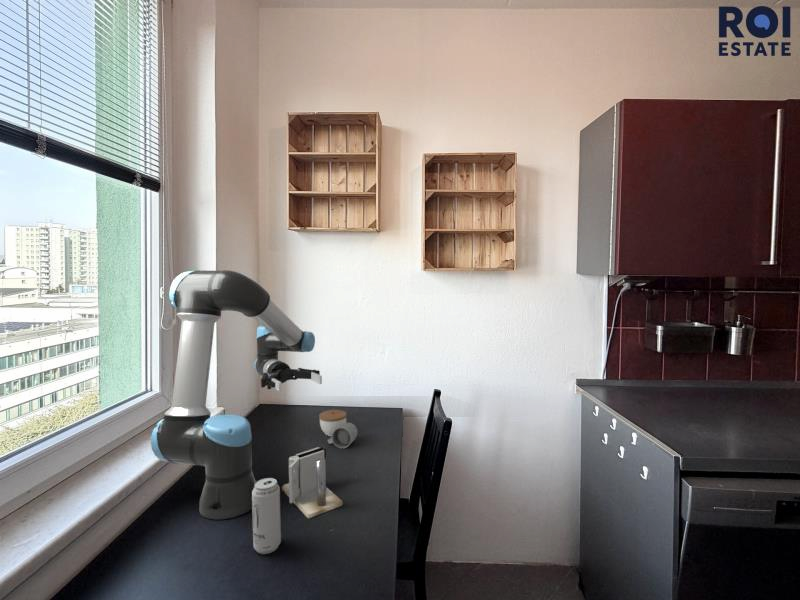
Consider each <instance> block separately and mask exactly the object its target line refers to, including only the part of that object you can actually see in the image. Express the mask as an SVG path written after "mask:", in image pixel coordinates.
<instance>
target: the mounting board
mask: <svg viewBox="0 0 800 600" xmlns="http://www.w3.org/2000/svg"><path fill="white" fill-rule="evenodd" d="M326 488H327V489H328V490H329V491H330V492H331V493H332V495H330V496H327V497H326V505H325V506H318V505H317V500H316V501H313V502H310V503H308V504H305V505H301V504H300V503H299V502H298V501H297V500H296V499H295V501H294V502H293V504H294V505H295V506H296V507H297V508H298V509H299V511H300V512H302V514H303V515H304V516H305V517H306V518H307V519H311V518H314V517H316V516H319V515H322V514H324V513H327V512H329V511H331V510H334V509H337V508H340V507H341V506H343V505H344V503H343V500H342V499H341V498H339V496H337V495H336V494H335V493H333V491H332V490H330V489H329V488H328V487H327V486H326ZM281 490H282V492H284V493H285V495H286V496H287V497H288V498H289V491H288V490H287V489H286V488H285V487H284V485H281Z"/></svg>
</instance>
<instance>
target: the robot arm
mask: <svg viewBox="0 0 800 600" xmlns="http://www.w3.org/2000/svg"><path fill="white" fill-rule="evenodd" d="M168 294H169V300H170V301H171V305H172V307H174V308H175V309H177V310H176V316H177V317H178V318H179V319H180V320H181V325H180V333H179V334H180V335H179V343H178V349H177V359H176V366H175V367H176V368H175V375H174V383H173V384H174V385H173V392H172V399H171V400H172V401H171V406H170V408H169V409H167V410H166V411H165V412H164V415H163V419H161V420H159V421H158V422H157V423H156V425H155V426H156V427H154V428H153V430H152V431H151V436H150V447H151V450H152V452H153V454H154V456H155V457H156V458H157V459H158V460H160V461H163V462H168V463H169V464H176V465H177V464H183V465H192V466H202V467H205V471H204V472H205V482H204V485H203V488H202V492H201V495H200V498H199V502H198V504H199V510H198V511H199V513H200V515H201V516H202V517H204V518H206V519H209V520H226V519H232V518H236V517H238V516H239V517H240V516H242V515H243V514H246V513H247V512H250V511H251V510H252V491H253V489H254V487H255V486H254V485H255V483H256V482H257V480H256V479H255V475H254V472H253V466H252V465H253V462H252V461H253V458H252V457H253V455H252V453H253V452H252V439H253V436H252V430H251V429H252V428H251V423H250V421H249V420H248V419H247V418H245V417H244V416H241V415H238V414H231V413H230V414H229V413H227V414H217V415H212V414H211V411H210V410H209V409H208V408H207V406H206V405H207V395H208V387H209V386H208V385H209V378H210V367H211V361H212V359H211V358H212V350H213V349H212V348H213V340H214V332H215V324H216V323H217V322H218V321H219V320H221V317H222V311H224V312H225V311H231V312H232V311H233V312H237V313H241V314H242V315H243V316H245V317H248V318H252V319H254V320H255V321H256V322H258V324H260V326H258V327H257V328H256V350H257V351H256V353H257V354H256V355H257V356H256V359H255V360H254V363H253V364H254V366H253V367H254V369H255V371H256V372H257V374H258V375H260V376H262V377H261V378H260V387H261V389H262V388H265V387H266V386H267V390H272V389H274V390H276V391H278V392H283V391H282V384H284V383H286V382H287V381H290V380H291V381H294V380H295V381H296V380H298V379H301V380H311V382H314V383H317V384H319V385H321V384H322V383H323V379H322V378H323V375H321V374H320V372H321V371H320V370H317V369H308V368H302V367H298V368H294V369H293V368H291V367H290V366H289V364H287V363H286V362H283V361H281V360H279V352H293V353H295V352H296V353H309V352H312V351H313V350H314V348H315V343H316V338H315V335H314V333H313V332H312V331H307V330H305V331H303V330H302V329H300V327H299V326H297V325H296V324H295V322H294V321H292V319H290V318H289V317H288V315H286V314H285V313H284V311H283V310H281V309H280V308H279V307H278V306H277V305H276V303H274V302H273V301H272V300H271V296H270V294H269V292H268V291H267V290H266V289H265V288H264V287H263V286H262V285H260V283H258V282H257V281H255V280H253V279H252V278H250V277H248V276H246V275H245V274H242V273H240V272H237V271H234V270H230V269H229V270H225V269H224V270H197V269H196V270H191V271H184V272H182V273H180V274H179V275H177V276H175V278H174V279H173V280H172V283H171V285H170V288H169V293H168ZM211 415H212V416H211Z"/></svg>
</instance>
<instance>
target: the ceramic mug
mask: <svg viewBox="0 0 800 600" xmlns="http://www.w3.org/2000/svg"><path fill="white" fill-rule="evenodd" d="M358 433H359V432H358V428H357V426H356V425H355V423H352V422H346V423H344V424H342V425H341V426H339V427H338V428H336V429H335V430H334V431H333V434H332V436H330V437H329V438H328V439H327V444H328V445H331V444H333V445H334V446H335V447H337V448H338V449H342V448H343V449H346V448H348V447H350V445H351V444H352V443H353V442H355V440H356V438H357V437H358Z"/></svg>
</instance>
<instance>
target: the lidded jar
mask: <svg viewBox="0 0 800 600" xmlns="http://www.w3.org/2000/svg"><path fill="white" fill-rule="evenodd" d="M347 416H348V414H347V412H346V411H344V410H340V409H330V410H329V409H328V410H324V411H322V412H320V413H319V415H318V417H319V425H320V429H321V430H322V432H323V433H324V434H325V435H326V436H327V435H328V436H327V437H332V434H333V431H334V430H335V429H336V428H338V427H339V426H341V425H342V424H344V423H347Z"/></svg>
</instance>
